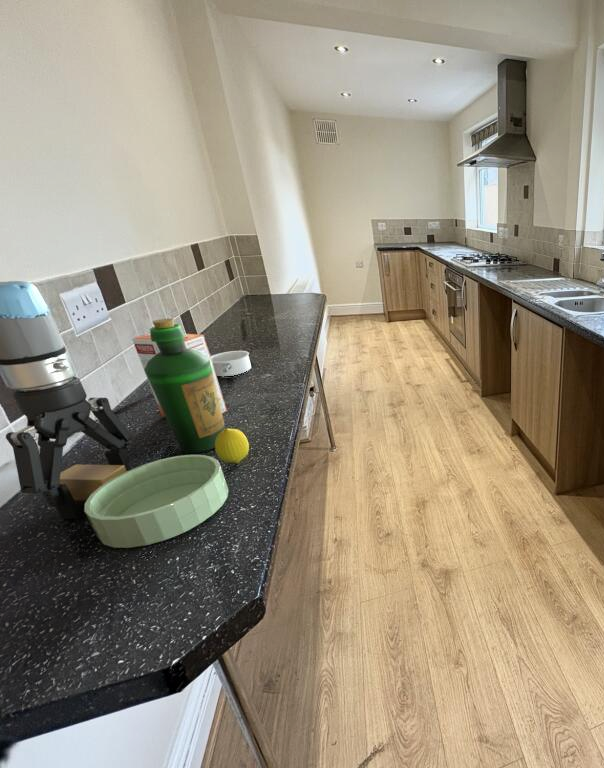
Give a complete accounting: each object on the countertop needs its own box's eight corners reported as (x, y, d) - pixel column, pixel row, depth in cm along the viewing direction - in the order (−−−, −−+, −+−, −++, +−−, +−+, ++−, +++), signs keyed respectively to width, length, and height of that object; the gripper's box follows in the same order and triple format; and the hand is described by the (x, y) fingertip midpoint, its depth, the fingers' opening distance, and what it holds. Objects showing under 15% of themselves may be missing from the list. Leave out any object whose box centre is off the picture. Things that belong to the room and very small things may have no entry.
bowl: (67, 549, 62) (50, 518, 60) (161, 480, 78) (150, 453, 76) (178, 552, 62) (165, 520, 59) (250, 482, 78) (242, 455, 75)
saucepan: (206, 391, 117) (200, 373, 115) (213, 370, 134) (208, 354, 131) (252, 384, 123) (247, 366, 120) (253, 364, 139) (249, 348, 137)
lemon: (248, 452, 87) (239, 419, 84) (256, 463, 84) (246, 428, 81) (218, 462, 84) (207, 428, 81) (224, 474, 80) (213, 438, 77)
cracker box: (160, 418, 102) (129, 337, 94) (181, 407, 108) (154, 330, 100) (209, 422, 100) (181, 340, 92) (228, 411, 106) (204, 333, 97)
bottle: (234, 447, 89) (195, 322, 78) (173, 463, 84) (122, 330, 73) (232, 428, 97) (197, 312, 87) (176, 441, 92) (131, 318, 81)
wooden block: (64, 507, 71) (49, 479, 69) (88, 491, 75) (75, 464, 73) (114, 508, 71) (100, 479, 69) (136, 492, 75) (124, 464, 73)
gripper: (-18, 414, 54) (56, 544, 63) (130, 359, 74) (170, 463, 83) (-72, 414, 54) (9, 543, 63) (90, 359, 75) (135, 463, 83)
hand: (101, 498), depth 73 cm, fingers open, 9 cm apart
